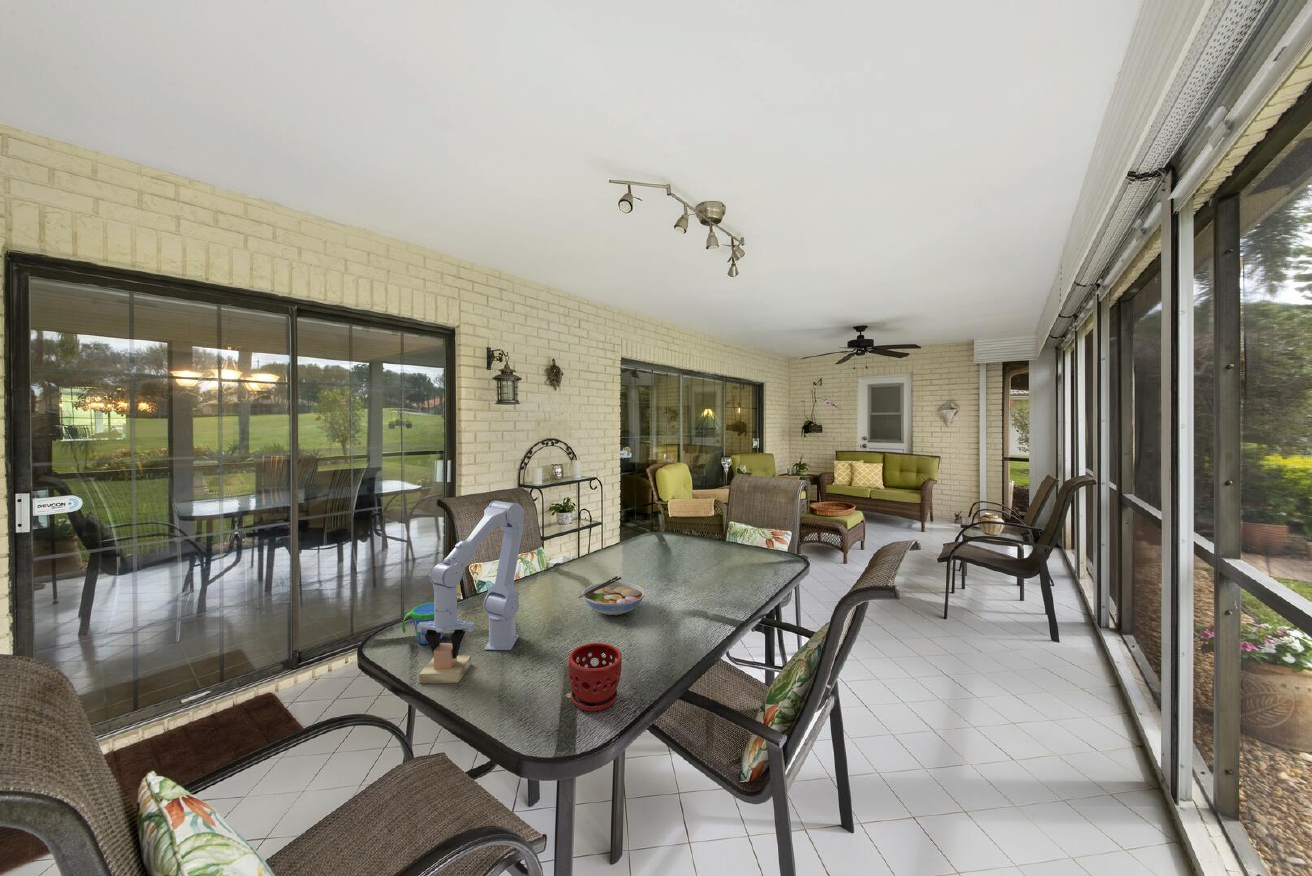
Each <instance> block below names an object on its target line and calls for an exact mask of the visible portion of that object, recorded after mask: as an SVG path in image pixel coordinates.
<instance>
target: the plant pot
mask: <svg viewBox="0 0 1312 876" xmlns="http://www.w3.org/2000/svg"><path fill="white" fill-rule="evenodd" d="M589 654H591V655H590V656H589ZM602 654H605V657H604V656H603V655H602ZM577 659H578V660H577ZM583 659H584V660H583ZM592 659H597V660H598V663H597V664H595V665H592V663H591V661H592ZM622 660H623V658H622V652H621V651H620V650H619V649H618V648H617V647H616V646H613V644H608V643H605V642H591V643H586V644H582V645H580V646H577V647H575V648H574V649H573V650H572V651H571V652H570V653H569V655H568V680H569V684H570V687H571V689H572V690H571V693H570V699H571V702H572V703H573V705H575V706H576V707H577V708H579V709H581V710H583V711H588V712H596V711H597V710H599V711H603V710H605V708H606V709H608V708H609V707H610V706H612V705H613V704H614V703H615V702H616V701H617V698H618V695H619V693H618V692H619V691H618V689H617V688H618V686H619V684H620V683H619V682H620V679H621V674H622V673H621V672H622V664H623V663H622V662H623V661H622ZM603 662H605V664H604V663H603ZM586 665H587V667H586ZM607 707H608V708H607ZM602 709H603V710H602Z"/></svg>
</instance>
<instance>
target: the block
mask: <svg viewBox="0 0 1312 876" xmlns="http://www.w3.org/2000/svg"><path fill="white" fill-rule="evenodd" d="M452 650H453V647H452V642H440V644H439V646H438V647H437V648H436V649H435V650H434V656H433V658H434V669H451V668H452V667H453V666H454V664H455V663H456V662H457V657H456V658H453V655H452Z"/></svg>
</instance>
